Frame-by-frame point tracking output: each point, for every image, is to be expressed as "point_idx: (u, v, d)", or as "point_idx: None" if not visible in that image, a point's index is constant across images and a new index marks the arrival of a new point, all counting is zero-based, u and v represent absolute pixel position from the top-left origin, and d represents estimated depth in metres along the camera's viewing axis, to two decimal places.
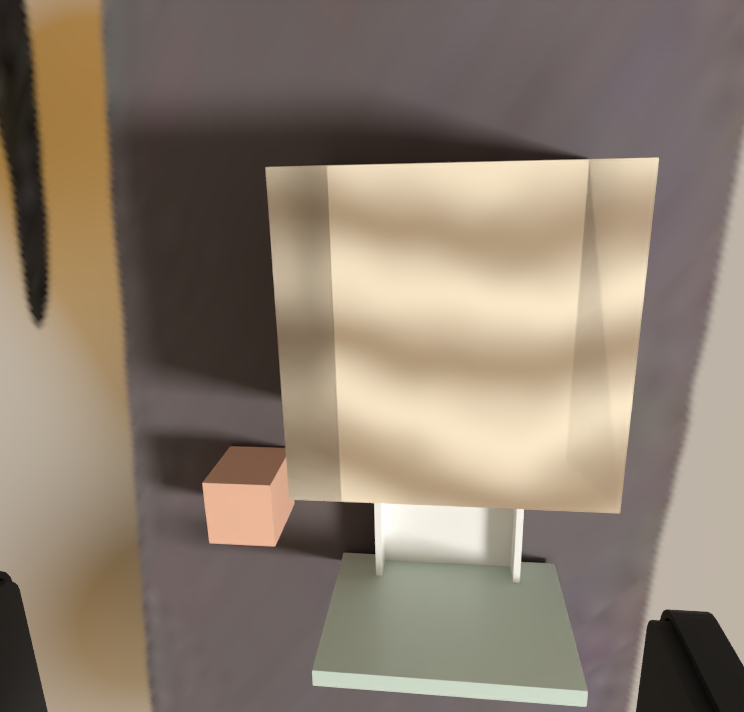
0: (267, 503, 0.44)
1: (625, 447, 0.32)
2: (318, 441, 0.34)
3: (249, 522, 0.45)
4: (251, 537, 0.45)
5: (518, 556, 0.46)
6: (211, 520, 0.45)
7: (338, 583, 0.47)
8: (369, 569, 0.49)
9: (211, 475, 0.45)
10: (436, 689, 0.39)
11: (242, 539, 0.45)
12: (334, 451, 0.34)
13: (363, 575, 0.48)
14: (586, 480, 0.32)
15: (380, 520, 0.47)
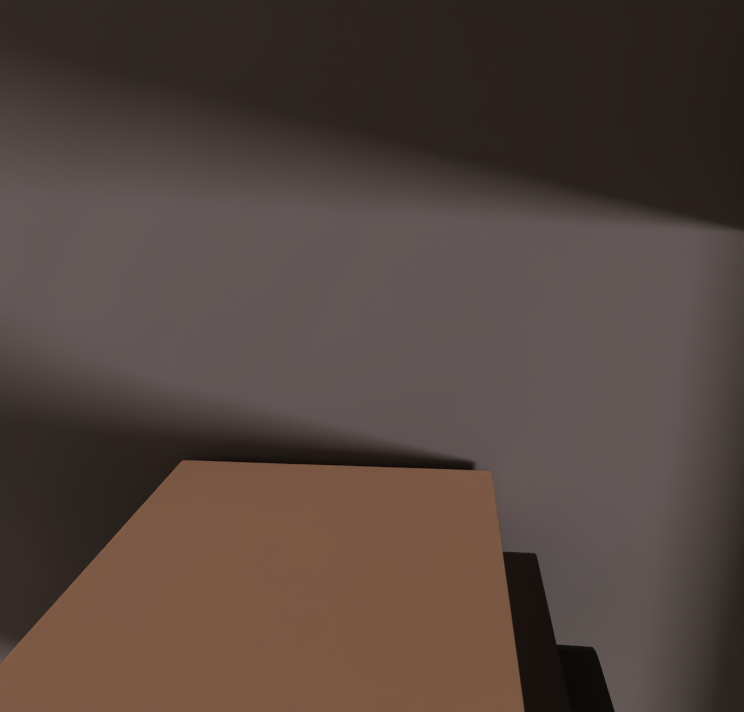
0: None
1: None
2: None
3: None
4: None
5: None
6: None
7: None
8: None
9: None
10: None
11: None
12: None
13: None
14: None
15: None
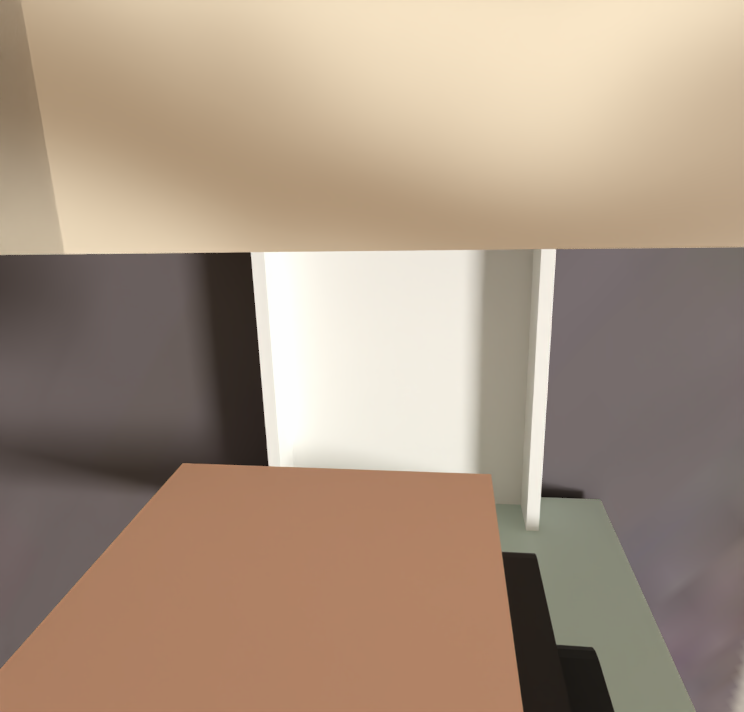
0: None
1: None
2: None
3: None
4: None
5: (536, 478, 0.24)
6: None
7: None
8: None
9: None
10: None
11: None
12: (21, 89, 0.12)
13: None
14: None
15: (275, 412, 0.25)
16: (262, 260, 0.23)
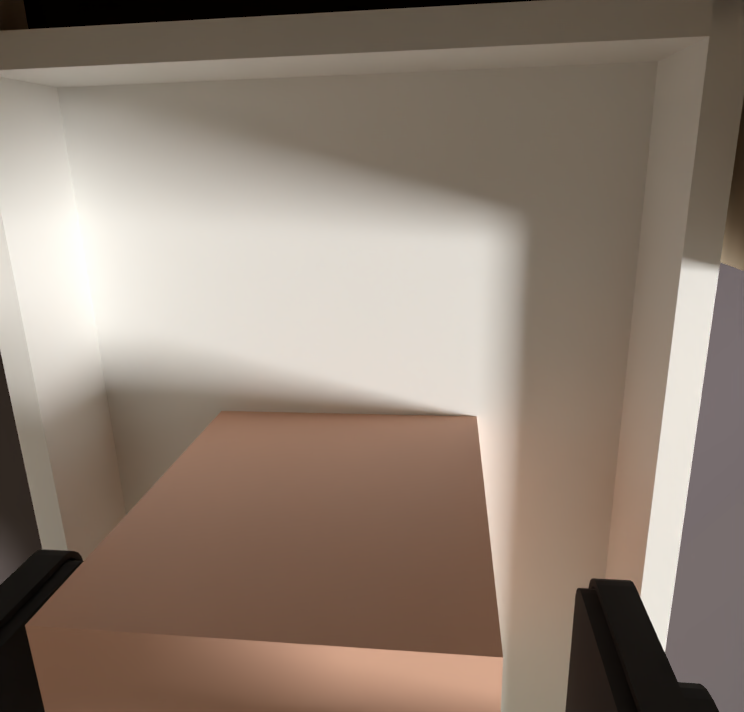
0: None
1: None
2: None
3: None
4: None
5: None
6: None
7: None
8: None
9: (104, 564, 0.08)
10: None
11: None
12: None
13: None
14: None
15: None
16: (29, 380, 0.10)
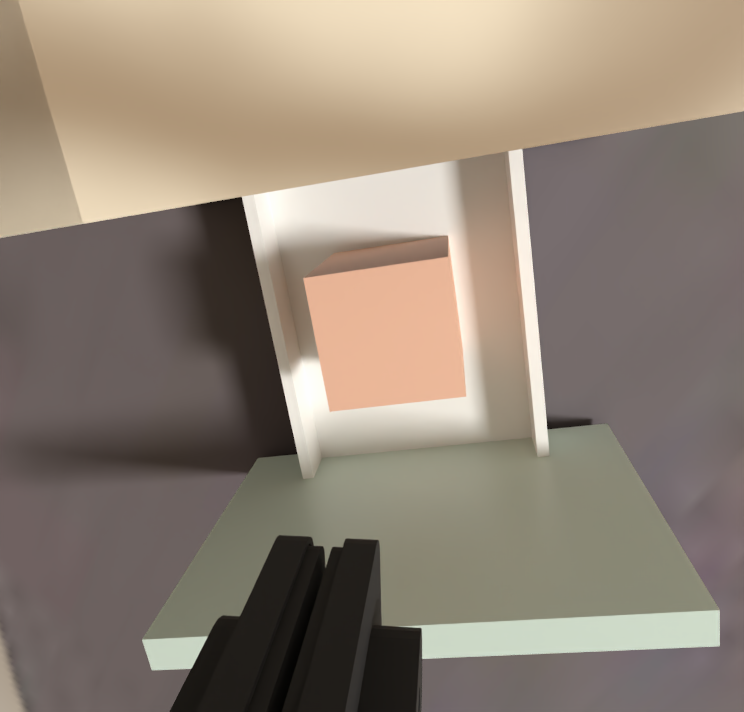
0: (444, 299, 0.21)
1: None
2: None
3: (408, 352, 0.22)
4: (415, 384, 0.22)
5: (540, 405, 0.26)
6: (329, 360, 0.22)
7: (237, 497, 0.28)
8: (294, 472, 0.29)
9: (317, 271, 0.22)
10: None
11: (396, 392, 0.22)
12: (31, 87, 0.14)
13: (282, 481, 0.28)
14: (657, 25, 0.12)
15: (291, 377, 0.27)
16: (260, 237, 0.25)
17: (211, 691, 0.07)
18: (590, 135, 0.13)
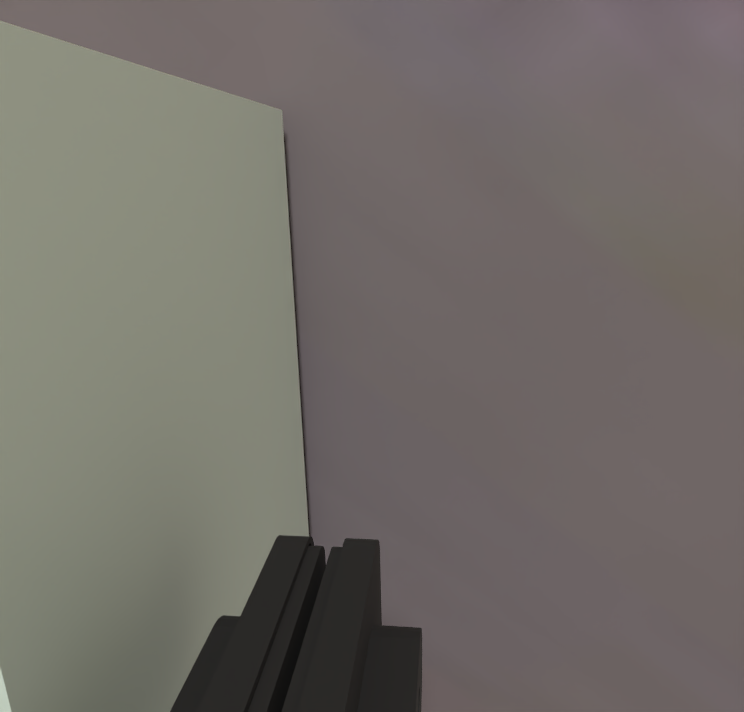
0: None
1: None
2: None
3: None
4: None
5: None
6: None
7: None
8: None
9: None
10: None
11: None
12: None
13: None
14: None
15: None
16: None
17: (211, 691, 0.07)
18: None
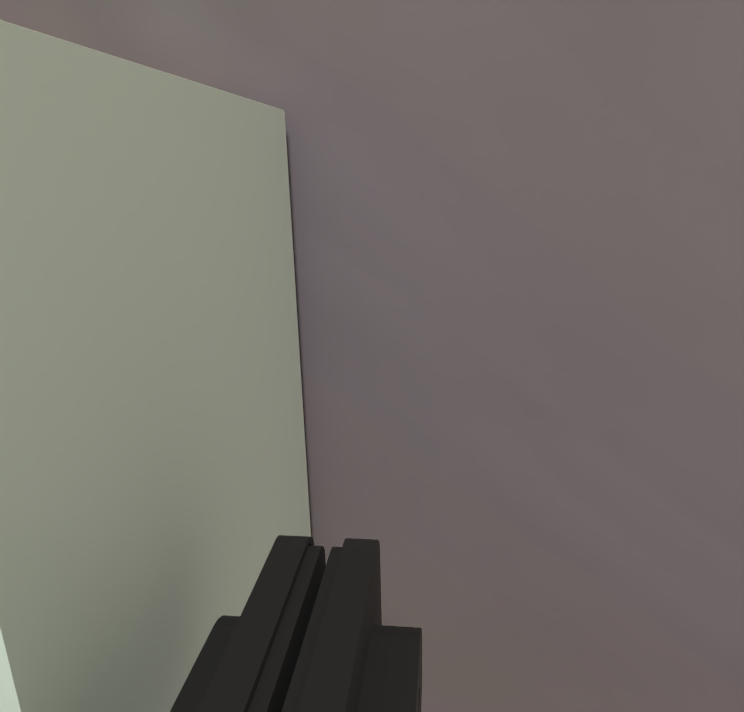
0: None
1: None
2: None
3: None
4: None
5: None
6: None
7: None
8: None
9: None
10: None
11: None
12: None
13: None
14: None
15: None
16: None
17: (211, 691, 0.07)
18: None
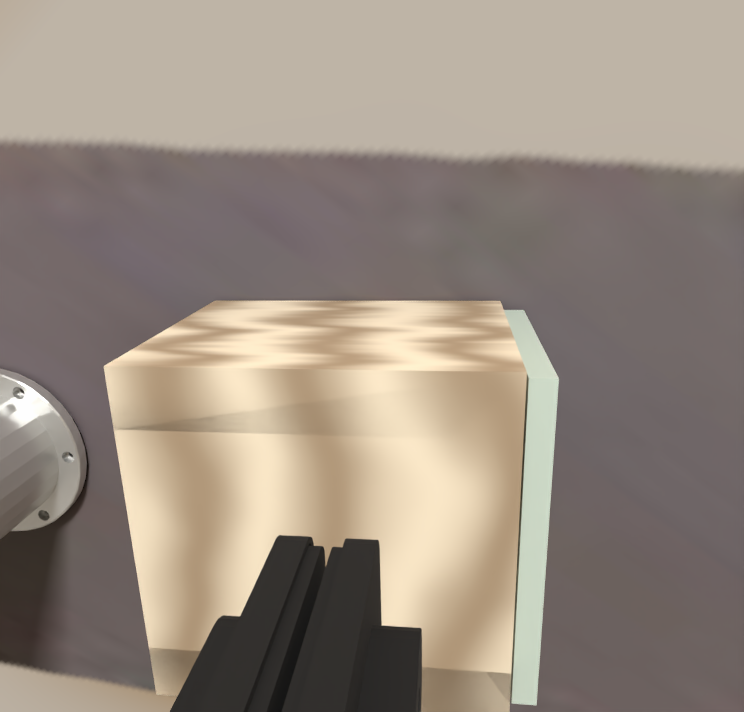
0: None
1: (430, 372, 0.25)
2: (433, 686, 0.30)
3: None
4: None
5: None
6: None
7: None
8: None
9: None
10: (535, 567, 0.28)
11: None
12: (444, 673, 0.30)
13: None
14: (478, 414, 0.25)
15: None
16: None
17: (211, 691, 0.07)
18: (522, 447, 0.26)
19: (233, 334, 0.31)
